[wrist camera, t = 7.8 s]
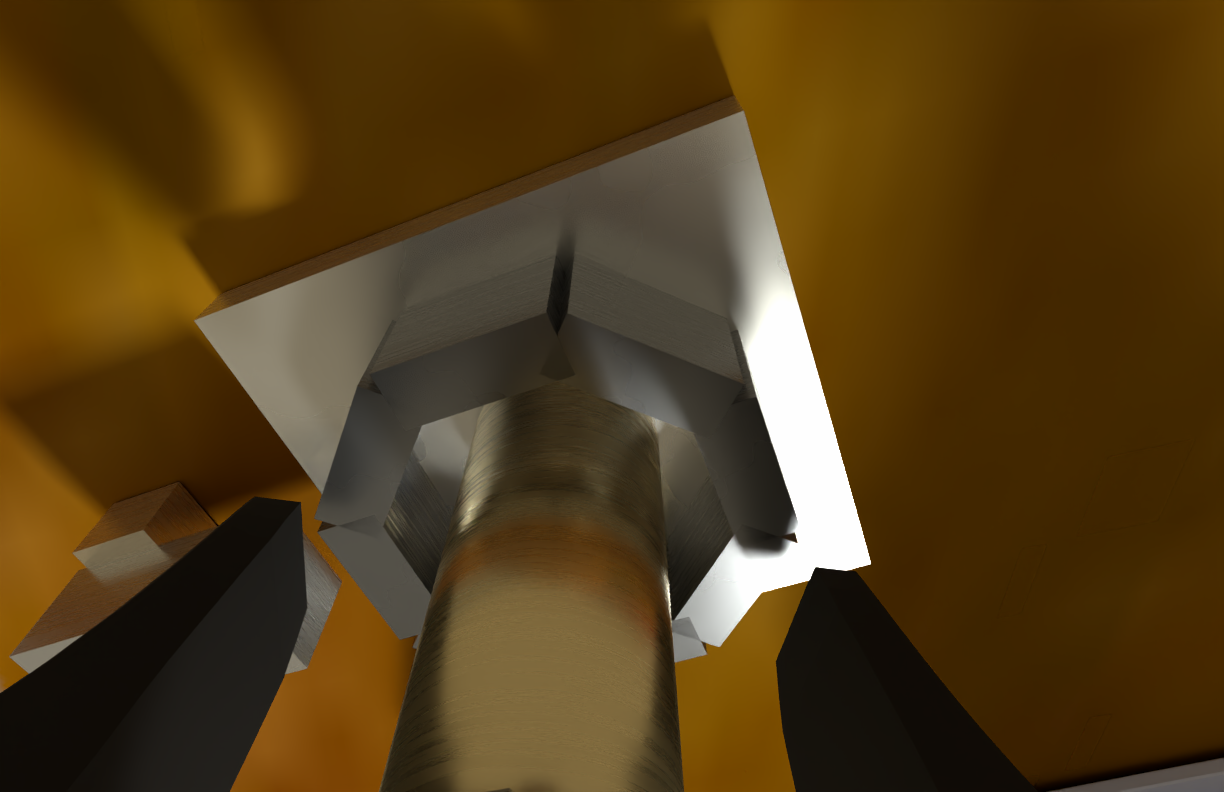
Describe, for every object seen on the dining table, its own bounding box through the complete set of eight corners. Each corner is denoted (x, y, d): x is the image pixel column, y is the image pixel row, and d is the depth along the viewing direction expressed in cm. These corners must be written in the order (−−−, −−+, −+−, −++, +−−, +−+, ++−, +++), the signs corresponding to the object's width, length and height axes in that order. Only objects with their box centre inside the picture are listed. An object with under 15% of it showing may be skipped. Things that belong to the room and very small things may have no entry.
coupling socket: (733, 95, 12) (773, 159, 9) (910, 714, 19) (962, 858, 16) (-11, 383, 14) (-169, 505, 11) (403, 825, 22) (371, 965, 19)
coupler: (629, 346, 13) (641, 826, 6) (678, 493, 14) (728, 995, 8) (445, 393, 13) (277, 883, 7) (513, 531, 15) (430, 1031, 8)
